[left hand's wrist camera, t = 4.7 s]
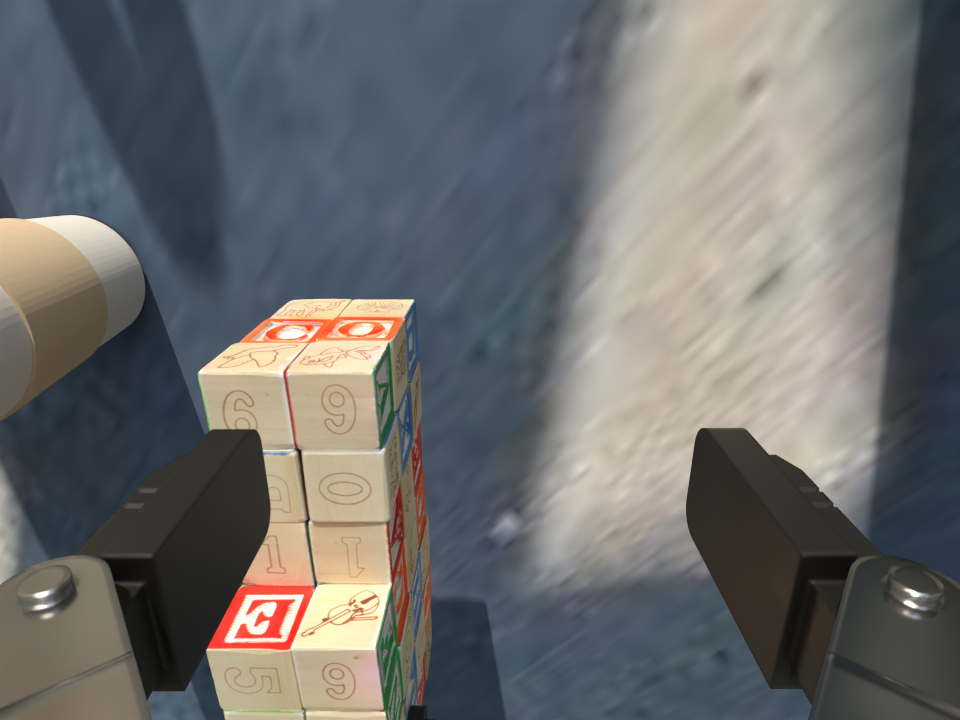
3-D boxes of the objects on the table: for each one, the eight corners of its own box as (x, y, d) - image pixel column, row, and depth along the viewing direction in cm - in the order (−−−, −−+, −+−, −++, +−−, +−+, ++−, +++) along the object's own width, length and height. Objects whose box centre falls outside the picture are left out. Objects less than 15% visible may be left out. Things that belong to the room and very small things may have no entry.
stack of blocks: (287, 296, 29) (144, 407, 17) (417, 296, 29) (359, 408, 17) (331, 638, 37) (252, 872, 25) (434, 640, 36) (402, 878, 25)
